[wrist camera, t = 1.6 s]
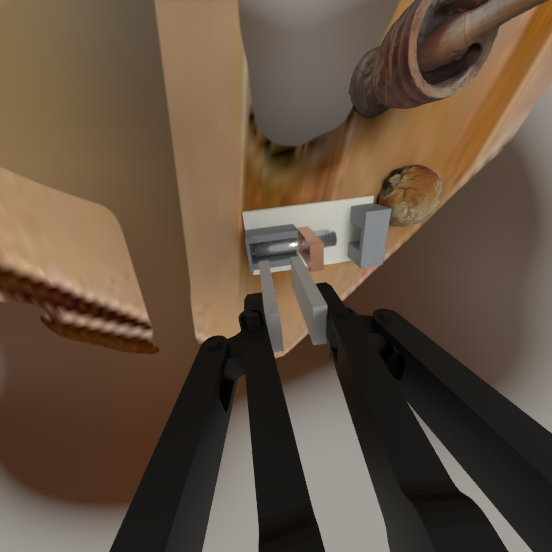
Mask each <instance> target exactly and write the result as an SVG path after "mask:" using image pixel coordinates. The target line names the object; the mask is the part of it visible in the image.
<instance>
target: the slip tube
mask: <svg viewBox="0 0 552 552" xmlns="http://www.w3.org/2000/svg"><path fill="white" fill-rule="evenodd" d="M297 230H298V237H296V238H289V239H282V240H274V241H267V242H260V243H253V250H254V256H255V257H262V256H269V255H276V254H283V253H290V252H298V251H299V253H300V254H301V256H302V258H303V260H304V261H305V263H306V265H307V266H308V268H309V270H310V272H313V271H320V270H324V248H326V247H333V246H336V243H337V237H336V233H335V231H334V230H333V231H325V232H318V233H314V232H313V231H312V230H311V229H310V228H309V227H300V228H297Z"/></svg>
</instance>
